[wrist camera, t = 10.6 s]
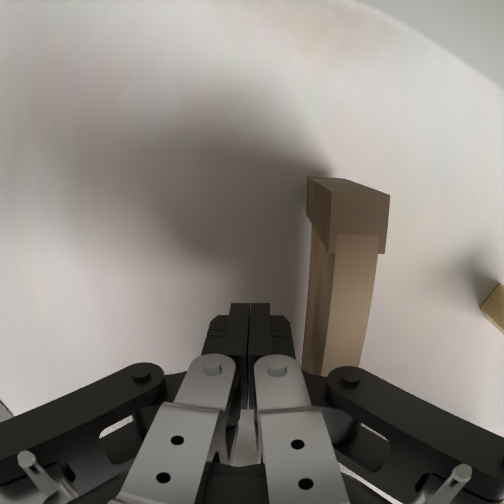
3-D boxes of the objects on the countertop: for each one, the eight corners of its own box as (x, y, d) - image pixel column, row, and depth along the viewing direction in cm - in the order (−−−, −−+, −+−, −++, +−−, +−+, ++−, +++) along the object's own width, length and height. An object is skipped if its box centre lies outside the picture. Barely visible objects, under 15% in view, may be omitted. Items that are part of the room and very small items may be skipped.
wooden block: (320, 398, 16) (331, 474, 11) (292, 399, 17) (296, 476, 11) (344, 178, 13) (390, 195, 8) (307, 176, 13) (331, 191, 8)
